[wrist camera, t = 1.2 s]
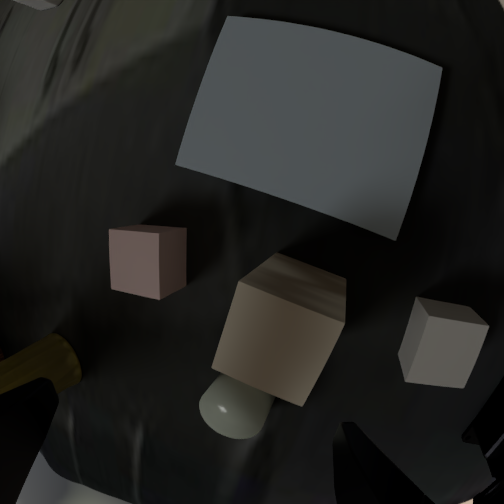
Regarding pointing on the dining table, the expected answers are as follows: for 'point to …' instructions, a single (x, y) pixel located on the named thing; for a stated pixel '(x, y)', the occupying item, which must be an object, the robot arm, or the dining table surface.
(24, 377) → the vase
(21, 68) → the dining table surface
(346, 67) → the blue board
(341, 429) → the robot arm
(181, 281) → the pink block
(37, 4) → the jar
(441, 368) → the off-white block
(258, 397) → the sage cylinder
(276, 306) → the birch block
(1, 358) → the decorative tree
